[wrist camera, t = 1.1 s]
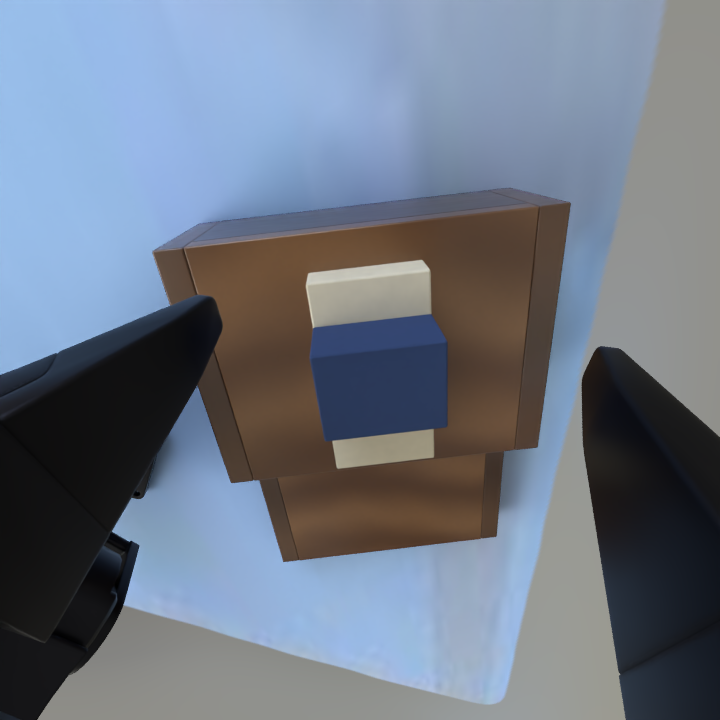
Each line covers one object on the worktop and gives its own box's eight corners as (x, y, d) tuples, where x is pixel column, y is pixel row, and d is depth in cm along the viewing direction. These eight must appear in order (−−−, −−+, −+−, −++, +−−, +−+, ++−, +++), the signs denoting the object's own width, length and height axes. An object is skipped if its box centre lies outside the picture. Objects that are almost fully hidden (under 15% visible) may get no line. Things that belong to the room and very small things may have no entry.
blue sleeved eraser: (428, 437, 20) (447, 499, 17) (336, 448, 20) (337, 512, 17) (422, 259, 16) (448, 291, 13) (307, 272, 16) (300, 308, 13)
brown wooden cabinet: (487, 515, 32) (518, 589, 27) (285, 539, 32) (276, 617, 27) (510, 187, 21) (571, 202, 15) (197, 223, 21) (150, 251, 15)
